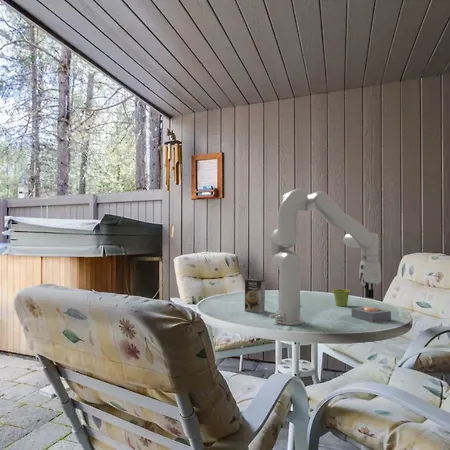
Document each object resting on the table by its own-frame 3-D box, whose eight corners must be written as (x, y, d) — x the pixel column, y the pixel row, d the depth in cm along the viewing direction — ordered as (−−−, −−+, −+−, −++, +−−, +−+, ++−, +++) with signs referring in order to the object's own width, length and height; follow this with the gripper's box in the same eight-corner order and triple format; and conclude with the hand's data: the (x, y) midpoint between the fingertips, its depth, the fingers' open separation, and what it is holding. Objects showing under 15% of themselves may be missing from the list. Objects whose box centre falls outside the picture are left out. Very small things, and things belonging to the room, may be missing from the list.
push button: (371, 316, 145) (371, 309, 146) (361, 313, 151) (361, 307, 151) (380, 315, 148) (380, 308, 148) (370, 312, 153) (370, 306, 153)
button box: (372, 322, 141) (372, 313, 141) (351, 316, 152) (351, 308, 152) (391, 320, 146) (390, 311, 146) (369, 314, 157) (369, 306, 157)
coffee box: (244, 311, 163) (244, 279, 164) (249, 308, 168) (249, 278, 169) (260, 313, 159) (260, 280, 159) (265, 310, 164) (265, 279, 165)
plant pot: (339, 307, 174) (339, 291, 174) (329, 304, 183) (329, 289, 183) (353, 306, 176) (353, 291, 177) (343, 303, 185) (343, 288, 186)
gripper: (364, 259, 144) (364, 299, 143) (387, 259, 150) (387, 298, 149) (351, 258, 151) (351, 297, 150) (374, 258, 157) (374, 295, 156)
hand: (369, 297), depth 150 cm, fingers closed
